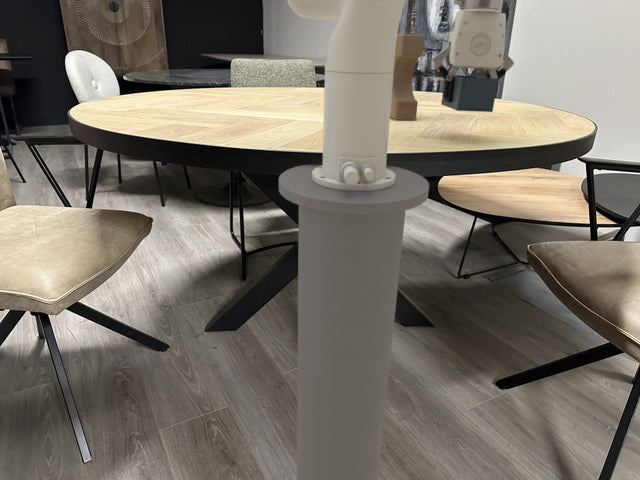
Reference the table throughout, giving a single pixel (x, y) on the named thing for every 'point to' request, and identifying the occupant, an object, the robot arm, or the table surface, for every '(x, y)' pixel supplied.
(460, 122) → the table surface
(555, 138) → the table surface
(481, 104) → the box
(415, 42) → the decorative block
